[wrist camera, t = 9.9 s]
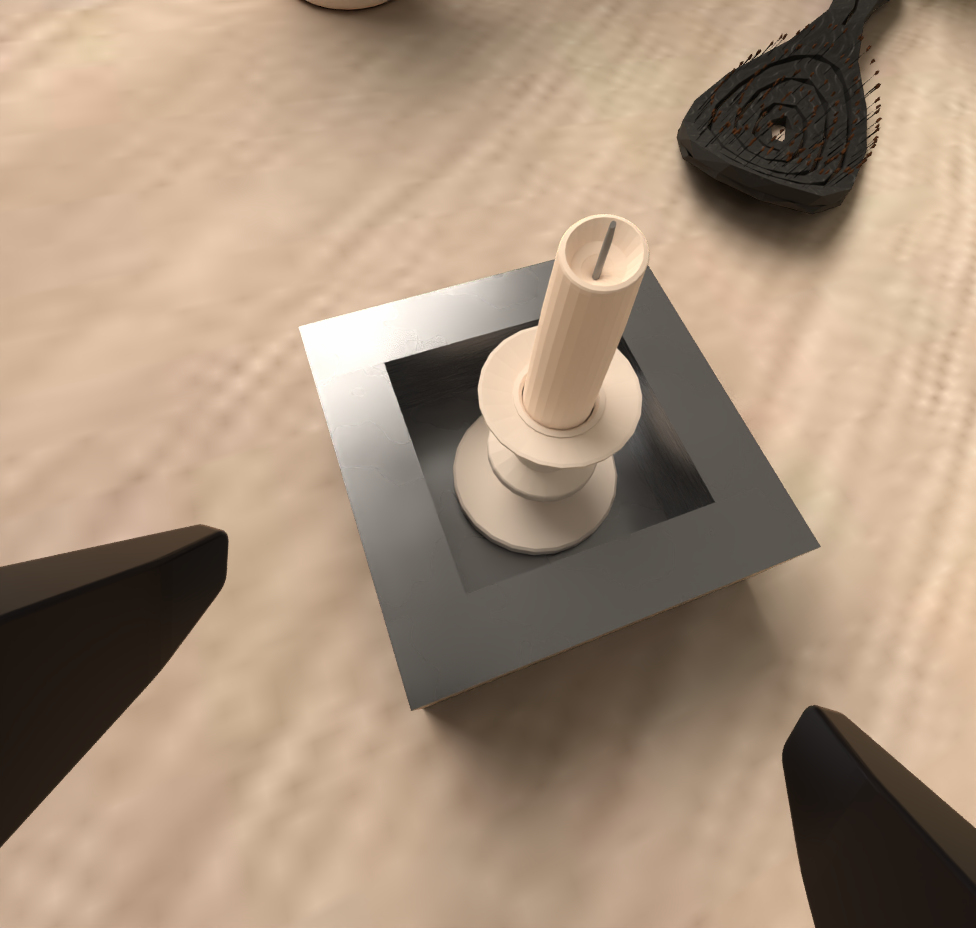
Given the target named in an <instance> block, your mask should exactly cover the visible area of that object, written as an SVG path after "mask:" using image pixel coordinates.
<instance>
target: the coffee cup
mask: <svg viewBox="0 0 976 928" xmlns="http://www.w3.org/2000/svg"><path fill="white" fill-rule="evenodd" d="M306 1H308V2H310V3H312V4H315V5H319V6H322V7H327V8H333V9H347V10H351V9H362V8H368V7H373V6H376V5H379V4H382V3H385V2H387V1H389V0H306Z"/></svg>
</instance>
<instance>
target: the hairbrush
mask: <svg viewBox="0 0 976 928" xmlns="http://www.w3.org/2000/svg"><path fill="white" fill-rule="evenodd" d="M888 1H889V0H833V2H832V4H831V6H830V8H829V10H827V11H826V12H825V13H823V14H822V15H821V16H820V17H818V18H817V19H816V20H815V21H813V22H812V23H811V24H808V25H807V26H806V27H805V28H804V29H803V30H802V31H801V32H800V30H799V31H798V32H797V33H796V35H795V36H794V37H793V38H792V39H790V40H789V41H787V42H785V43H783V44H781V45H780V46H778V47H775V48H774V49H772V50H770V51H768V52H766V53H765V54H763V53H764V52H765V51H766V50H767V49H768V48H769V47H770V46H771V45H773V42H771V43H770V45H769V47H768V48H767V49H766V50H765V51H764V52H763V53H762V54H763V55H761V56H759V57H757V58H755V57H756V56H757V55H758V54H759V53H760V52H761V49H760V50H758V51H757V53H756V56H755V57H754V58H755V59H754V58H752V59H751V57H752V54H751V55H750V56H749V57H748V59H747V60H746V62H747V61H748V60H750V59H751V61H750V62H748V63H746V62H745V63H746V64H745V63H744V64H743V62H744V61H742V62H740V65H739V68H737V69H735V68H734V69H733V70H732V71H731V72H729V73H728V74H726V75H725V76H724V77H723V78H722V79H720V80H719V81H718V82H717V83H716V84H714V85H713V86H712V87H711V88H709V89H708V90H707V91H706V92H705V93H703V94H702V95H701V96H700V97H698V98H697V99H696V100H695V101H694V103H693V104H692V106H691V108H690V109H689V111H688V113H687V114H686V116H685V118H684V119H683V121H682V124H681V127H680V128H679V130H678V134H677V140H678V144H679V147H680V151H681V154H682V157H683V159H685V160H686V161H688V162H689V163H691V164H692V165H694V166H696V167H697V168H699V169H700V170H702V171H703V172H705V173H706V174H708V175H709V176H711V177H713V178H714V179H716V180H718V181H720V182H722V183H724V184H727V185H729V186H731V187H733V188H735V189H737V190H739V191H741V192H744V193H746V194H748V195H750V196H752V197H754V198H756V199H758V200H761V201H764V202H768V203H772V204H775V205H779V206H783V207H787V208H791V209H795V210H798V211H802V212H806V213H810V214H814V213H817V212H820V211H823V210H826V209H830V208H833V207H836V206H839V205H841V203H842V202H843V200H844V199H845V197H846V195H847V194H848V192H849V191H850V190H851V189H852V186H853V184H854V181H855V179H856V176H857V174H858V171H859V168H860V167H861V166H862V164H863V163H864V162H866V161H867V159H866V158H868V157H869V156H871V154H872V151H871V152H870V153H869V154H867V156H866V157H865V158H864V156H865V153H866V150H867V148H868V147H869V146H868V147H867V138H869V137H870V136H871V135H873V134H874V133H876V132H877V131H879V128H878V127H879V124H880V123H879V124H878V125H877V126H876V127H875V128H877V129H876V130H875V132H873V133H872V134H871V135H870V136H868V137H867V130H868V129H869V128H868V129H867V120H868V119H869V118H868V119H867V116H868V115H869V114H868V115H867V108H866V102H865V98H866V97H867V96H868V95H869V94H870V93H869V92H871V91H872V90H873V89H874V88H875V89H877V88H879V87H880V85H881V84H880V83H878V84H877V85H876V86H875V87H874V88H873V89H871V90H870V91H869V92H868V93H869V94H868V93H867V94H868V95H867V94H866V95H867V96H866V95H865V96H866V97H864V91H863V85H864V84H865V83H864V84H863V85H862V80H861V75H860V69H859V64H858V58H859V51H860V45H861V40H862V39H863V36H862V32H863V26H864V24H865V22H866V21H867V20H868V18H869V17H870V15H871V14H872V13H873V11H874V10H875V9H877V8H878V7H880V6H882V5H883V4H885V3H886V2H888ZM852 10H853V11H852ZM851 11H852V14H851V17H850V19H849V21H848V22H847V23H846V21H847V19H848V16H849V15H850V13H851ZM845 24H846V25H845ZM787 35H788V34H787V33H786V34H785V35H784V37H783V38H782V35H781V36H780V38H779V40H780V39H781V38H782V40H784V39H785V38H786V36H787ZM782 40H781V41H782ZM781 41H780V42H781ZM774 45H775V44H774ZM774 45H773V46H774ZM773 46H772V47H773ZM772 47H771V48H772ZM771 48H770V49H771ZM870 48H871V46H870V45H869V47H868V48H867V49H866V52H867V51H868V50H869V49H870ZM873 62H875V60H874V59H873V60H872V61H871V63H870V64H872V63H873ZM742 64H743V65H742ZM741 65H742V66H741ZM878 73H879V71H876V72H875V74H874V75H876V74H878ZM870 79H871V78H870ZM870 79H869V80H870ZM875 89H874V90H875ZM874 90H873V91H874ZM873 91H872V92H873ZM872 92H871V93H872ZM733 93H734V94H733ZM732 94H733V95H732ZM731 95H732V96H731ZM730 96H731V97H730ZM729 97H730V98H729ZM727 98H729V99H728V100H727V101H726V102H725V103H724V104H723V105H722V106H721V107H720V108H719V109H718V110H717V108H718V107H719V106H720V105H721V104H722V103H723V102H724V101H725V100H726V99H727ZM755 98H756V99H755ZM754 99H755V100H754ZM753 100H754V102H753V103H752V104H751V105H750V107H749V108H748V109H747V110H746V112H745V113H744V114H742V115H741V116H740V118H739V120H738V122H737V125H736V128H734V123H735V119H736V118H737V117H738V116H739V114H740V113H741V112H742V110H743V109H744V108H745V107H746V105H747V104H748V103H750V102H751V101H753ZM879 100H880V97H878V98H877V99H876V100H875V102H874V103H876V102H877V101H879ZM874 103H873V104H874ZM880 106H881V105H878V106H876V109H877V108H879V107H880ZM869 107H870V106H869ZM869 107H868V108H869ZM716 110H717V112H715V111H716ZM879 110H880V108H879V109H878V110H877V111H876V112H874V114H877V113H879ZM872 112H873V111H872ZM872 112H871V113H872ZM765 113H768V114H767V115H766V116H765ZM712 114H713V115H712ZM715 114H716V115H715ZM874 114H873V115H874ZM711 115H712V116H711ZM873 115H872V116H873ZM714 116H715V117H714ZM761 116H762V117H763V116H765V117H764V118H763V119H762V120H761V121H760V122H759V124H758V126H757V129H756V132H755V135H753V134H752V131H753V128H754V126H755V124H756V121H757V120H758V119H759V118H760V117H761ZM872 116H871V117H872ZM713 117H714V119H713V121H712V122H711V123H710V124H711V125H710V124H709V125H710V128H709V129H708V128H707V127H708V126H709V125H708V123H709V120H710V119H711V118H713ZM871 117H870V118H871ZM881 119H882V118H878V119H877V121H876V123H878V122H879V121H880V120H881ZM707 125H708V126H707ZM773 125H779V126H784V127H785V128H784V129H785V139H784V140H783V141H782V142H781V141H779V140H778V139H779V138H780V137H779V138H778V139H777V140H776V135H775V137H773V138H772V130H771V127H772V126H773ZM873 125H874V124H873ZM873 125H872V126H873ZM733 128H734V130H733ZM784 129H782V130H780V133H779V134H781V133H782V132H783V131H784ZM733 133H734V134H733ZM823 133H824V136H823ZM779 134H778V135H779ZM868 134H869V133H868ZM778 135H777V136H778ZM846 136H847V137H846ZM823 137H824V138H823ZM802 138H803V142H802V146H801V149H800V150H798V147H799V145H800V142H801V140H802ZM877 138H878V136H876V137H875V138H874V139H873V140H874V142H873V143H872V144H874V143H877ZM823 140H824V141H823ZM822 141H823V142H822ZM872 144H871V145H872ZM822 145H823V147H822V151H821V154H820V158H819V157H817V158H816V156H817V154H818V152H819V150H820V147H821V146H822ZM868 145H869V144H868ZM871 145H870V146H871ZM875 146H876V144H874V145H873V146H872V147H871V148H874V147H875ZM797 150H798V153H797V154H798V155H797V156H798V157H797V158H795V159H794V160H793V156H794V155H795V153H796V151H797ZM869 150H870V149H869ZM799 153H800V155H799ZM844 153H845V154H844ZM843 154H844V157H843V160H842V164H841V166H840V167H841V168H838V169H837V170H836V168H837V166H838V164H839V161H840V159H841V157H842V155H843ZM818 158H819V159H818ZM863 158H864V159H863ZM817 160H818V161H817ZM815 161H817V164H816V166H815V168H814V170H815V171H813V172H811V173H809V171H810V170H811V168H812V166H813V163H814V162H815ZM839 170H840V171H839ZM834 171H835V172H834ZM838 171H839V172H838ZM837 172H838V173H837ZM808 173H809V174H808ZM833 173H837V174H836V175H835V176H834V177H833V178H832V179H831V180H830V181H829V182H828V179H829V178H830V177H831V175H832V174H833ZM827 182H828V183H827Z"/></svg>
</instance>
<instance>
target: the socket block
mask: <svg viewBox="0 0 976 928" xmlns="http://www.w3.org/2000/svg"><path fill="white" fill-rule="evenodd" d="M554 261H555V259H554V260H550V261H547V262H543V263H539V264H535V265H531V266H528V267H524V268H520V269H516V270H512V271H509V272H505V273H501V274H497V275H493V276H490V277H486V278H482V279H478V280H474V281H471V282H467V283H463V284H459V285H455V286H452V287H448V288H444V289H440V290H436V291H433V292H429V293H425V294H421V295H417V296H414V297H410V298H406V299H402V300H398V301H395V302H391V303H387V304H383V305H379V306H376V307H372V308H368V309H364V310H360V311H356V312H353V313H349V314H345V315H341V316H337V317H334V318H330V319H326V320H322V321H318V322H315V323H311V324H307V325H303V326H299V330H300V333H301V336H302V340H303V343H304V347H305V350H306V354H307V357H308V360H309V364H310V367H311V371H312V374H313V377H314V381H315V384H316V388H317V391H318V394H319V398H320V401H321V405H322V408H323V412H324V415H325V418H326V422H327V425H328V429H329V432H330V435H331V439H332V442H333V446H334V449H335V453H336V456H337V459H338V463H339V466H340V470H341V473H342V476H343V480H344V483H345V487H346V490H347V494H348V497H349V500H350V504H351V507H352V511H353V514H354V517H355V521H356V524H357V528H358V531H359V534H360V538H361V541H362V545H363V548H364V552H365V555H366V558H367V562H368V565H369V569H370V572H371V575H372V579H373V582H374V586H375V589H376V593H377V596H378V599H379V603H380V606H381V610H382V613H383V616H384V620H385V623H386V627H387V630H388V633H389V637H390V640H391V644H392V647H393V651H394V654H395V657H396V661H397V664H398V668H399V671H400V674H401V678H402V681H403V685H404V688H405V692H406V695H407V698H408V702H409V705H410V709H411V711H413V710H418V709H423V708H426V707H428V706H431V705H433V704H436V703H438V702H441V701H443V700H446V699H448V698H450V697H453V696H455V695H458V694H460V693H463V692H465V691H468V690H470V689H473V688H475V687H478V686H480V685H483V684H485V683H488V682H490V681H493V680H495V679H498V678H500V677H503V676H505V675H508V674H510V673H513V672H515V671H518V670H520V669H523V668H525V667H528V666H530V665H533V664H535V663H538V662H540V661H543V660H545V659H548V658H550V657H553V656H555V655H558V654H560V653H563V652H565V651H568V650H570V649H573V648H575V647H578V646H580V645H583V644H585V643H588V642H590V641H593V640H595V639H598V638H600V637H603V636H605V635H608V634H610V633H613V632H615V631H618V630H620V629H623V628H625V627H628V626H630V625H632V624H635V623H637V622H640V621H642V620H645V619H647V618H650V617H652V616H655V615H657V614H660V613H662V612H665V611H667V610H670V609H672V608H675V607H677V606H680V605H682V604H685V603H687V602H690V601H692V600H695V599H697V598H700V597H702V596H705V595H707V594H710V593H712V592H715V591H717V590H720V589H722V588H725V587H727V586H730V585H732V584H735V583H737V582H740V581H742V580H745V579H747V578H750V577H752V576H754V575H756V574H759V573H761V572H763V571H766V570H768V569H770V568H773V567H775V566H777V565H780V564H782V563H784V562H787V561H789V560H791V559H794V558H796V557H798V556H801V555H803V554H805V553H808V552H810V551H812V550H815V549H817V548H819V547H821V546H820V545H819V543H818V542H817V540H816V538H815V537H814V535H813V533H812V532H811V530H810V529H809V527H808V525H807V524H806V522H805V520H804V519H803V517H802V515H801V514H800V512H799V511H798V509H797V507H796V506H795V504H794V502H793V501H792V499H791V498H790V496H789V494H788V493H787V491H786V489H785V488H784V486H783V485H782V483H781V481H780V480H779V478H778V476H777V475H776V473H775V471H774V470H773V468H772V467H771V465H770V463H769V462H768V460H767V458H766V457H765V455H764V454H763V452H762V450H761V449H760V447H759V445H758V444H757V442H756V441H755V439H754V437H753V436H752V434H751V432H750V431H749V429H748V427H747V426H746V424H745V423H744V421H743V419H742V418H741V416H740V414H739V413H738V411H737V410H736V408H735V406H734V405H733V403H732V401H731V400H730V398H729V397H728V395H727V393H726V392H725V390H724V388H723V387H722V385H721V383H720V382H719V380H718V379H717V377H716V375H715V374H714V372H713V370H712V369H711V367H710V366H709V364H708V362H707V361H706V359H705V357H704V356H703V354H702V353H701V351H700V349H699V348H698V346H697V344H696V343H695V341H694V340H693V338H692V336H691V335H690V333H689V331H688V330H687V328H686V326H685V325H684V323H683V322H682V320H681V318H680V317H679V315H678V313H677V312H676V310H675V309H674V307H673V305H672V304H671V302H670V300H669V299H668V297H667V296H666V294H665V292H664V291H663V289H662V287H661V286H660V284H659V282H658V281H657V279H656V278H655V276H654V274H653V273H652V271H651V269H650V268H649V266H647V268H646V270H645V273H644V276H643V279H642V282H641V284H640V287H639V290H638V293H637V296H636V299H635V301H634V304H633V307H632V310H631V313H630V316H629V318H628V321H627V324H626V327H625V329H624V332H623V334H622V337H621V339H620V342H619V344H618V347H617V349H618V350H619V351H620V352H621V353H622V354H623V355H624V356H625V357H626V359H627V360H628V361H629V362H630V364H631V366H632V368H633V370H634V372H635V373H636V375H637V377H638V380H639V384H640V389H641V393H642V407H641V416H640V419H639V421H638V424H637V426H636V429H635V431H634V433H633V435H632V436H631V437H630V439H629V440H628V441H627V442H626V443H625V445H624V446H623V447H622V448H621V450H619V451H618V452H616V453H615V454H613V456H614V461H615V466H616V471H617V485H616V496H615V498H614V501H613V503H612V506H611V509H610V511H609V514H608V515H607V516H606V518H605V519H604V520H603V522H602V523H601V524H600V525H599V527H598V528H597V529H596V531H595V532H594V533H593V534H592V535H591V536H589V537H588V538H586V539H585V540H584V541H582V542H581V543H579V544H578V545H577V546H575V547H572V548H569V549H566V550H564V551H561V552H558V553H555V554H542V555H530V554H524V553H518V552H513V551H510V550H508V549H505V548H503V547H501V546H499V545H497V544H495V543H492V542H491V541H489V540H488V539H487V538H486V537H484V536H483V535H482V534H481V533H480V532H478V531H477V530H476V529H475V528H474V527H473V526H472V524H471V523H470V522H469V520H468V519H467V517H466V516H465V515H464V513H463V512H462V510H461V507H460V505H459V502H458V499H457V496H456V494H455V489H454V475H453V465H454V460H455V455H456V451H457V447H458V445H459V443H460V441H461V440H462V438H463V436H464V434H465V432H466V430H467V429H468V428H469V427H470V426H471V425H472V424H473V423H474V422H475V421H476V420H477V419H478V418H479V417H480V416H482V413H481V410H480V408H479V397H478V384H479V379H480V375H481V370H482V368H483V366H484V364H485V362H486V360H487V359H488V357H489V355H490V353H491V352H492V351H493V350H494V349H495V348H496V347H497V346H498V345H499V344H500V343H501V342H502V341H503V340H505V339H506V338H508V337H510V336H512V335H514V334H515V333H517V332H519V331H521V330H524V329H528V328H531V327H535V326H538V324H539V319H540V315H541V310H542V306H543V302H544V299H545V295H546V291H547V288H548V284H549V280H550V276H551V273H552V269H553V265H554Z"/></svg>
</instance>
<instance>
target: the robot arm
mask: <svg viewBox="0 0 976 928" xmlns="http://www.w3.org/2000/svg"><path fill="white" fill-rule="evenodd" d="M227 559H228V535H227V534H226V532H225V531H223V530H220V529H217V528H213V527H210V526H207V525H201V524H199V525H194V526H189V527H185V528H180V529H175V530H171V531H166V532H161V533H157V534H152V535H147V536H143V537H138V538H133V539H128V540H124V541H119V542H114V543H110V544H105V545H100V546H96V547H91V548H86V549H82V550H77V551H72V552H68V553H63V554H58V555H54V556H49V557H44V558H40V559H35V560H30V561H26V562H21V563H16V564H12V565H7V566H2V567H0V848H1V846H2V845H3V844H4V843H5V842H6V841H7V840H8V839H9V838H10V837H11V835H12V834H13V833H14V832H15V831H16V830H17V829H18V828H19V827H20V826H21V824H22V823H23V822H24V821H25V820H26V819H27V818H28V817H29V816H30V815H31V813H32V812H33V811H34V810H35V809H36V808H37V807H38V806H39V805H40V804H41V802H42V801H43V800H44V799H45V798H46V797H47V796H48V795H49V794H50V793H51V792H52V790H53V789H54V788H55V787H56V786H57V785H58V784H59V783H60V782H61V781H62V779H63V778H64V777H65V776H66V775H67V774H68V773H69V772H70V771H71V770H72V768H73V767H74V766H75V765H76V764H77V763H78V762H79V761H80V760H81V759H82V757H83V756H84V755H85V754H86V753H87V752H88V751H89V750H90V749H91V748H92V746H93V745H94V744H95V743H96V742H97V741H98V740H99V739H100V738H101V737H102V735H103V734H104V733H105V732H106V731H107V730H108V729H109V728H110V727H111V726H112V724H113V723H114V722H115V721H116V720H117V719H118V718H119V717H120V716H121V715H122V713H123V712H124V711H125V710H126V709H127V708H128V707H129V706H130V705H131V704H132V702H133V701H134V700H135V699H136V698H137V697H138V696H139V695H140V694H141V693H142V691H143V690H144V689H145V688H146V687H147V686H148V685H149V684H150V683H151V681H152V680H153V679H154V678H155V677H156V676H157V675H158V673H159V672H160V671H161V670H162V669H163V667H164V666H165V665H166V664H167V662H168V661H169V660H170V658H171V657H172V656H173V654H174V653H175V652H176V650H177V649H178V648H179V646H180V645H181V644H182V642H183V641H184V640H185V638H186V637H187V636H188V634H189V633H190V632H191V630H192V629H193V628H194V626H195V625H196V623H197V622H198V621H199V619H200V618H201V617H202V615H203V614H204V613H205V611H206V610H207V609H208V607H209V606H210V605H211V603H212V602H213V601H214V599H215V598H216V596H217V595H218V594H219V592H220V591H221V589H222V587H223V585H224V583H225V580H226V575H227ZM782 763H783V770H784V776H785V782H786V788H787V794H788V800H789V806H790V812H791V818H792V824H793V830H794V836H795V842H796V848H797V854H798V859H799V864H800V869H801V874H802V878H803V882H804V886H805V891H806V895H807V899H808V902H809V906H810V910H811V914H812V917H813V921H814V925H815V928H976V828H975V827H974V826H972V825H971V824H970V823H969V822H968V821H967V820H965V819H964V818H963V817H962V816H961V815H960V814H958V813H957V812H956V811H955V810H954V809H953V808H952V807H950V806H949V805H948V804H947V803H946V802H945V801H943V800H942V799H941V798H940V797H939V796H938V795H936V794H935V793H934V792H933V791H932V790H931V789H930V788H928V787H927V786H926V785H925V784H924V783H923V782H921V781H920V780H919V779H918V778H917V777H916V776H914V775H913V774H912V773H911V772H910V771H909V770H908V769H906V768H905V767H904V766H903V765H902V764H901V763H899V762H898V761H897V760H896V759H895V758H894V757H892V756H891V755H890V754H889V753H888V752H887V751H886V750H884V749H883V748H882V747H881V746H880V745H879V744H877V743H876V742H875V741H874V740H873V739H872V738H870V737H869V736H868V735H867V734H866V733H865V732H863V731H862V730H861V729H860V728H859V727H858V726H857V725H855V724H854V723H853V722H852V721H851V720H850V719H848V718H847V717H846V716H845V715H843V714H842V713H840V712H837V711H834V710H830V709H827V708H823V707H820V706H817V705H813V706H809V707H808V708H806V709H805V710H804V712H803V713H802V715H801V717H800V718H799V720H798V722H797V724H796V725H795V727H794V729H793V731H792V732H791V734H790V736H789V737H788V739H787V741H786V743H785V745H784V748H783V753H782Z"/></svg>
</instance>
